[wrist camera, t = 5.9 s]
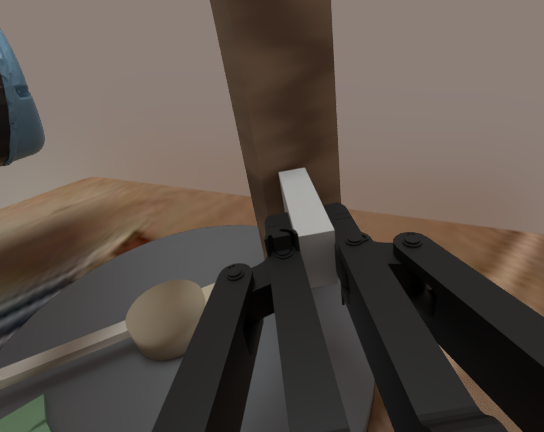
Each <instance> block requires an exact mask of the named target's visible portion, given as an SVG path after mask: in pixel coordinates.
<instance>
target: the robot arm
mask: <svg viewBox="0 0 544 432" xmlns="http://www.w3.org/2000/svg"><path fill="white" fill-rule="evenodd" d="M44 142H45V136H44V131H43V127H42V123H41V120H40V117H39V114H38V111H37V108H36V106H35V103H34V101H33V98H32V96H31V94H30V93H29V91H28V86H27V84H26V81H25V78H24V75H23V73H22V70H21V68H20V66H19V63H18V61H17V59H16V57H15V54H14V52H13V50H12V48H11V46H10V44H9V43H8V41H7V39H6V37H5V35H4V34H3V32H2V31H1V29H0V166H7V165H10V164H11V163H12V162H13V161H16V160H19V159H21V158H24V157H27V156H30V155H33V154H35V153H37V152H39V151H40V150H41V149H42V147H43V145H44ZM278 173H279V179H280V186H281V192H282V198H283V205H284V211H285V213H280V214H274V215H269V216H267V218H266V220H265V221H264V224H265V232H266V235H265V238H264V241H265V246H266V251H267V257H266V259H265V260H264V261H263V262H262V263H260V264H259V265H257V266H254V267H252V268H251V267H250V266H249V265H247V264H243V263H236V264H232V265H229V266H227V267H225V268H224V269H223V270H222V271H221V272H220V273H219V275H218V277H217V280H216V282H215V284H214V287H213V289H212V291H211V294H210V296H209V298H208V301H207V303H206V305H205V308H204V310H203V312H202V315H201V317H200V319H199V322H198V324H197V326H196V329H195V331H194V333H193V336H192V338H191V340H190V343H189V345H188V347H187V350H186V352H185V354H184V357H183V359H182V361H181V364H180V366H179V368H178V371H177V373H176V375H175V378H174V380H173V382H172V385H171V387H170V389H169V392H168V394H167V396H166V399H165V401H164V404H163V406H162V408H161V411H160V413H159V415H158V418H157V420H156V422H155V425H154V427H153V429H152V432H240V430H241V426H242V421H243V416H244V412H245V407H246V402H247V397H248V393H249V388H250V383H251V379H252V374H253V369H254V365H255V360H256V355H257V351H258V346H259V341H260V337H261V332H262V327H263V323H264V318H265V317H267V316H269V315H271V314H273V313H275V320H276V328H277V336H278V344H279V352H280V360H281V368H282V377H283V385H284V393H285V401H286V409H287V417H288V425H289V432H351V431H350V428H349V424H348V421H347V417H346V414H345V410H344V406H343V403H342V399H341V396H340V392H339V388H338V385H337V381H336V378H335V374H334V370H333V367H332V363H331V360H330V356H329V352H328V349H327V345H326V342H325V338H324V334H323V331H322V327H321V324H320V320H319V316H318V313H317V309H316V306H315V302H314V298H313V295H312V291H311V288H315V287H321V286H326V285H332V284H338V277H339V280H340V282H341V299H342V305H345V303H346V306H347V308H348V311H349V314H350V316H351V319H352V321H353V324H354V327H355V329H356V332H357V335H358V337H359V340H360V342H361V345H362V348H363V350H364V353H365V355H366V358H367V361H368V363H369V366H370V368H371V371H372V374H373V376H374V379H375V382H376V384H377V387H378V389H379V392H380V395H381V397H382V400H383V402H384V405H385V408H386V410H387V413H388V415H389V418H390V421H391V423H392V426H393V429H394V431H395V432H508V431H507V430H506V428H505V427H504V426H503V425H502V423H501V422H499V421H498V420H497V419H496V418H495V417H493V416H489V415H485V414H484V413H483V412H481V411H480V409H479V408H478V407H477V405H476V404H475V402H474V400H473V399H472V397H471V396H470V394H469V393H468V391H467V389H466V388H465V386H464V385H463V383H462V381H461V380H460V378H459V377H458V375H457V374H456V372H455V370H454V369H453V367H452V366H451V364H450V362H449V361H448V359H447V358H446V356H445V354H444V353H443V351H442V350H441V348H440V347H439V345H440V346H441V347H442V348H443V349H444V350H445V351H446V353H447V354H448V355H449V356H450V357H451V358H452V359H453V360H454V361H455V362H456V363H457V364H458V365H459V366H460V367H461V368H462V369H463V370H464V371H465V372H466V373H467V374H468V375H469V376H470V377H471V378H472V379H473V380H474V381H475V383H476V384H477V385H478V386H479V387H480V388H481V389H482V390H483V391H484V392H485V393H486V394H487V395H488V396H489V397H490V398H491V399H492V400H493V401H494V402H495V403H496V404H497V405H498V406H499V407H500V408H501V409H502V410H503V412H504V413H505V414H506V415H507V416H508V417H509V418H510V419H511V420H512V421H513V422H514V423H515V424H516V425H517V426H518V427H519V428H520V429H521V430H522V431H523V432H544V317H543V316H541V315H540V314H538V313H537V312H535V311H534V310H533V309H531V308H530V307H528V306H527V305H525V304H524V303H522V302H521V301H519V300H518V299H516V298H515V297H514V296H512V295H511V294H509V293H508V292H506V291H505V290H503V289H502V288H500V287H499V286H498V285H496V284H495V283H493V282H492V281H490V280H489V279H487V278H486V277H484V276H483V275H482V274H480V273H479V272H477V271H476V270H474V269H473V268H471V267H470V266H468V265H467V264H466V263H464V262H463V261H461V260H460V259H458V258H457V257H455V256H454V255H452V254H451V253H450V252H448V251H447V250H445V249H444V248H442V247H441V246H439V245H438V244H436V243H435V242H434V241H432V240H431V239H429V238H428V237H426V236H424V235H422V234H419V233H415V232H405V233H401V234H399V235H397V236H396V237H395V238H394V239H393V243H382V242H375V241H373V240H372V239H371V237H370V236H369V235H367V234H365V233H363V232H361V231H360V230H359V228H358V226H357V225H356V223H355V221H354V220H353V218H352V216H351V215H350V213H349V211H348V210H347V208H346V207H345V206H344V205H342V204H340V203H339V202H338V203H332V204H326V205H322V203H321V201H320V199H319V196H318V194H317V192H316V190H315V188H314V186H313V184H312V182H311V180H310V178H309V175H308V173H307V171H306V169H305V168H299V169H294V170H288V171H283V172H278ZM438 344H439V345H438Z"/></svg>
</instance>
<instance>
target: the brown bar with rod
mask: <svg viewBox="0 0 544 432" xmlns="http://www.w3.org/2000/svg"><path fill="white" fill-rule="evenodd" d="M210 2H211V8H212V12H213V17H214V21H215V26H216V31H217V36H218V40H219V45H220V50H221V55H222V60H223V64H224V69H225V73H226V79H227V83H228V88H229V93H230V97H231V102H232V107H233V111H234V116H235V121H236V126H237V131H238V135H239V140H240V145H241V150H242V154H243V159H244V164H245V168H246V173H247V178H248V183H249V188H250V192H251V197H252V202H253V207H254V211H255V216H256V221H257V226H258V230H259V235H260V240H261V245H262V249H263V254H264V259H266V257H267V251H266V246H265V241H264V238H265V235H266V232H265V224H264V221H265V220H266V218H267V216H269V215H274V214H280V213H285V211H284V205H283V198H282V192H281V186H280V179H279V173H278V172H283V171H288V170H294V169H299V168H305V169H306V171H307V173H308V175H309V178H310V180H311V182H312V184H313V186H314V188H315V190H316V192H317V194H318V196H319V199H320V201H321V203H322V205H326V204H332V203H338V202H339V203H340V204H341V196H340V178H339V177H340V176H339V155H338V135H337V115H336V94H335V74H334V55H333V35H332V13H331V0H210ZM214 284H215V283H213V284H211V285H208V286H206V287H203V288H200V286H199V285H198V284H196V283H195V282H192V281H189V280H171V281H167V282H164V283H161V284H159V285H156V286H154V287H152V288H151V289H149V290H147V291H146V292H144V293H143V294H142V295H141V296H140V297H138V298H137V299H136V301H135V302H134V303H133V304H132V305H131V307H130V309H129V310H128V313H127V315H126V320H125V321H122V322H119V323H117V324H114V325H112V326H109V327H107V328H104V329H101V330H99V331H96V332H94V333H91V334H88V335H86V336H83V337H81V338H78V339H76V340H73V341H70V342H68V343H65V344H63V345H60V346H57V347H55V348H52V349H50V350H47V351H45V352H42V353H39V354H37V355H34V356H32V357H29V358H27V359H24V360H21V361H19V362H16V363H14V364H11V365H8V366H6V367H3V368H1V369H0V389H3V388H5V387H8V386H10V385H13V384H15V383H18V382H20V381H23V380H25V379H28V378H30V377H33V376H35V375H38V374H40V373H43V372H45V371H48V370H50V369H53V368H55V367H58V366H60V365H62V364H65V363H67V362H70V361H72V360H75V359H77V358H80V357H82V356H85V355H87V354H90V353H92V352H95V351H97V350H100V349H102V348H105V347H107V346H110V345H112V344H115V343H117V342H120V341H122V340H125V339H127V338H130V337H132V338H133V340H134V342H135V344H136V345H137V347H138V349H139V351H140V352H141V353H142V354H143V355H144V356H145V357H147V358H149V359H153V360H168V359H172V358H175V357H178V356H180V355H182V354H185V352H186V350H187V347H188V345H189V343H190V340H191V338H192V336H193V333H194V331H195V329H196V326H197V324H198V322H199V319H200V317H201V315H202V312H203V310H204V308H205V305H206V303H207V301H208V298H209V296H210V294H211V291H212V289H213V287H214Z"/></svg>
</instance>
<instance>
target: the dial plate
mask: <svg viewBox="0 0 544 432" xmlns="http://www.w3.org/2000/svg"><path fill="white" fill-rule="evenodd" d="M264 260H265V259H264V254H263V249H262V245H261V240H260V235H259V230H258V226H245V225H227V226H215V227H206V228H200V229H194V230H189V231H185V232H181V233H177V234H173V235H170V236H166V237H163V238H160V239H157V240H154V241H152V242H149V243H146V244H144V245H141V246H139V247H136V248H134V249H132V250H130V251H127V252H125V253H123V254H121V255H119V256H117V257H115V258H113V259H111V260H109V261H107V262H106V263H104V264H102V265H100V266H99V267H97V268H95V269H94V270H92V271H90V272H89V273H87V274H86V275H84V276H83V277H81V278H80V279H78V280H77V281H75V282H74V283H72V284H71V285H69V286H68V287H67V288H65V289H64V290H63V291H61V292H60V293H59V294H57V295H56V296H55V297H54V298H52V299H51V300H50V301H49V302H48V303H46V304H45V305H44V306H43V307H42V308H41V309H39V310H38V311H37V312H36V313H35V314H34V315H33V316H32V317H31V318H30V319H29V320H28V321H27V322H26V323H25V324H24V325H23V326H21V327H20V328H19V329H18V330H17V332H16V333H15V334H14V335H13V336H12V337H11V338H10V339H9V340H8V342H7V343H6V344H5V345H4V346H3V347H2V348H1V349H0V369H1V368H3V367H6V366H8V365H11V364H14V363H16V362H19V361H21V360H24V359H27V358H29V357H32V356H34V355H37V354H39V353H42V352H45V351H47V350H50V349H52V348H55V347H57V346H60V345H63V344H65V343H68V342H70V341H73V340H76V339H78V338H81V337H83V336H86V335H88V334H91V333H94V332H96V331H99V330H101V329H104V328H107V327H109V326H112V325H114V324H117V323H119V322H122V321H125V320H126V315H127V313H128V310H129V309H130V307H131V305H132V304H133V303H134V302H135V301H136V299H137V298H138V297H140V296H141V295H142V294H143V293H144V292H146V291H147V290H149V289H151V288H152V287H154V286H156V285H159V284H161V283H164V282H167V281H171V280H189V281H192V282H195V283H196V284H198V285H199V286H200V288H203V287H206V286H208V285H211V284H213V283H215V282H216V280H217V277H218V275H219V273H220V272H221V271H222V270H223V269H224V268H225V267H227V266H229V265H232V264H236V263H243V264H247V265H249V266H250V267H251V268H252V267H254V266H257V265H259V264H260V263H262V262H263V261H264ZM311 291H312V295H313V298H314V302H315V306H316V309H317V313H318V316H319V320H320V324H321V327H322V331H323V334H324V338H325V342H326V345H327V349H328V352H329V356H330V360H331V363H332V367H333V370H334V374H335V378H336V381H337V385H338V388H339V392H340V396H341V399H342V403H343V406H344V410H345V414H346V417H347V421H348V424H349V428H350V431H351V432H367V428H368V423H369V419H370V414H371V409H372V404H373V399H374V384H375V379H374V376H373V374H372V371H371V368H370V366H369V363H368V361H367V358H366V355H365V353H364V350H363V348H362V345H361V342H360V340H359V337H358V335H357V332H356V329H355V327H354V324H353V321H352V319H351V316H350V314H349V311H348V308H347V306H346V303H345V305H342V299H341V282H340V280H339V277H338V284H332V285H326V286H321V287H315V288H311ZM183 357H184V354H182V355H180V356H178V357H175V358H172V359H168V360H153V359H149V358H147V357H145V356H144V355H143V354H142V353H141V352H140V351H139V349H138V347H137V345H136V344H135V342H134V340H133V338H132V337H130V338H127V339H125V340H122V341H120V342H117V343H115V344H112V345H110V346H107V347H105V348H102V349H100V350H97V351H95V352H92V353H90V354H87V355H85V356H82V357H80V358H77V359H75V360H72V361H70V362H67V363H65V364H62V365H60V366H58V367H55V368H53V369H50V370H48V371H45V372H43V373H40V374H38V375H35V376H33V377H30V378H28V379H25V380H23V381H20V382H18V383H15V384H13V385H10V386H8V387H5V388H3V389H0V432H152V429H153V427H154V425H155V422H156V420H157V418H158V415H159V413H160V411H161V408H162V406H163V404H164V401H165V399H166V396H167V394H168V392H169V389H170V387H171V385H172V382H173V380H174V378H175V375H176V373H177V371H178V368H179V366H180V364H181V361H182V359H183ZM240 432H289V425H288V417H287V409H286V401H285V393H284V385H283V377H282V368H281V360H280V352H279V344H278V336H277V328H276V320H275V313H273V314H271V315H269V316H267V317H265V318H264V323H263V327H262V332H261V337H260V341H259V346H258V351H257V355H256V360H255V365H254V369H253V374H252V379H251V383H250V388H249V393H248V397H247V402H246V407H245V412H244V416H243V421H242V426H241V430H240Z"/></svg>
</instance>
